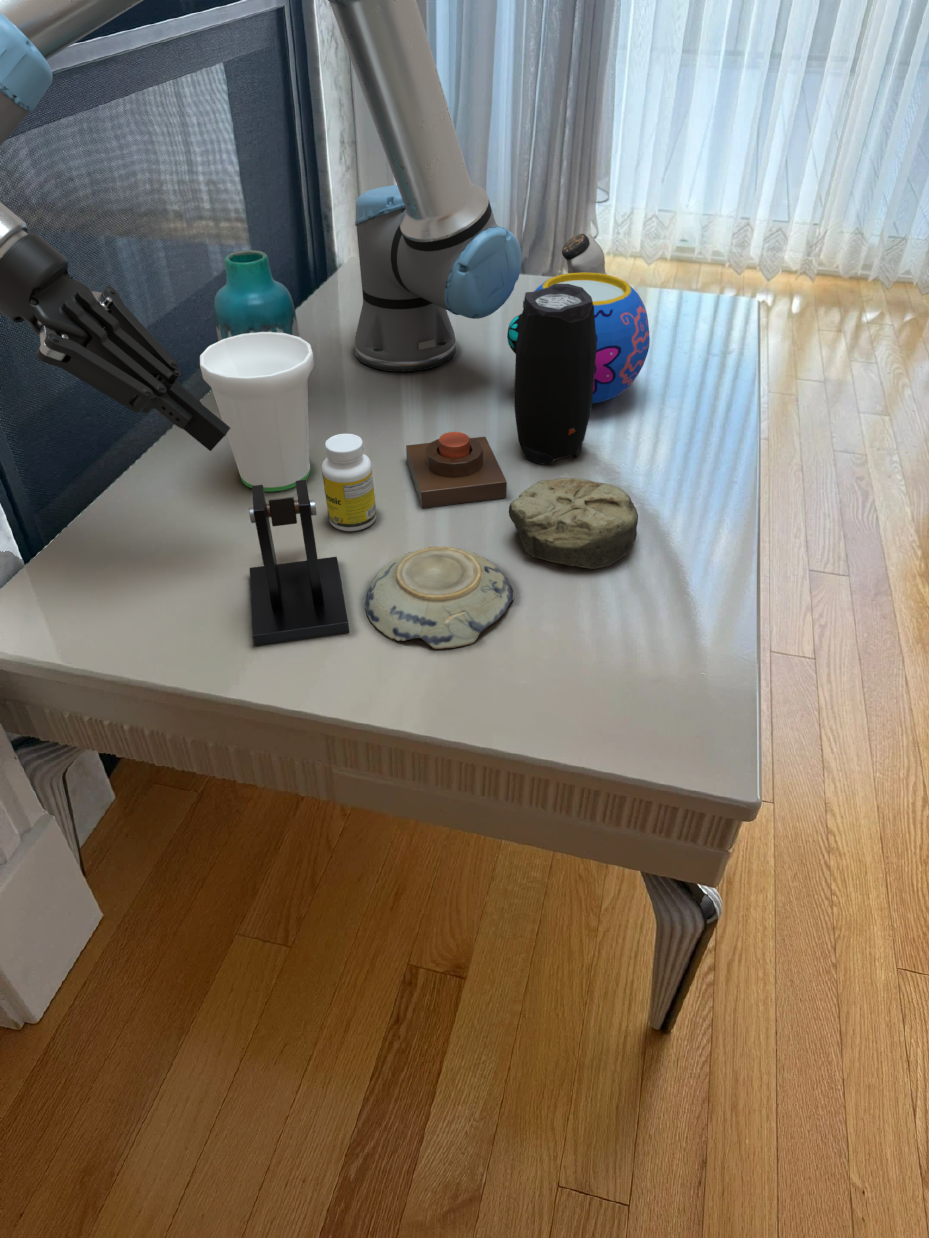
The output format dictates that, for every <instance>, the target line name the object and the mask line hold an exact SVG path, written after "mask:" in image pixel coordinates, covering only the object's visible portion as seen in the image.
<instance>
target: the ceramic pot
mask: <svg viewBox="0 0 929 1238" xmlns="http://www.w3.org/2000/svg"><path fill="white" fill-rule="evenodd" d="M606 274H607V273H606ZM606 274H600V273H586V272H581V273H568V272H567V273H562V274H559V275H555V276H553V277H550V278H548V279H547V280H546V279H545V281H544V282H542V283H541V284H540V285H539V286H538V287H536V289H535V290H534V291H537V290H540V289H544V288H547V287H550V286H552V285H554V284H571V285H575V286H578V287H582V288H583V289H584V290H585V291H586V292H587V293H588V294H589V295H590V296H591V297H592V301H593V305H594V315H595V329H596V342H597V351H596V362H595V374H594V385H593V396H592V405H593V404H598V403H603V402H605V401H608V400H611V399H613V398H617V397H619V396H620V395H621V394H623V393H624V392H625V391H627V390H628V388H629V387H631V385H632V384H633V383H634V381H635V380H636V378H637V377H638V376H639V373H640V372H641V370H642V369H643V367H644V364H645V362H646V359H647V356H648V353H649V350H650V342H651V341H650V340H651V338H650V325H649V319H648V318H649V317H648V313H647V309H646V307H645V304H644V301H643V299H642V298H641V296H640V295H639V293H638V292H637V291H636V289H634V288H633V286H632V285H630V284H629V283H628V282H627V281H625V280H623V279H621V278H620V277H617V276H614V275H609V274H607V275H606ZM522 313H523V310H522V312H521V313H520V314H518V315H517V316H515V317H513V319H511V321H510V323H509V324H508V327H507V334H506V337H507V338H506V339H507V343H508V346H509V348H510V349H511V351H512V352H513V353H514V354H515V355H516V341H517V336H518V332H519V327H520V322H521V318H522Z"/></svg>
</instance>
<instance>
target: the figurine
mask: <svg viewBox="0 0 929 1238" xmlns="http://www.w3.org/2000/svg"><path fill="white" fill-rule="evenodd" d="M561 254H562V256H563V258H564V259H565V261H566V264H567V274H568V273H581V272H586V273H600V274H606V275H608V274H607V272H606V258H605V253H604V250H603V248H602V247H601V245H600V244H599V243H598V242H597V241H596V239H595V237H594V236H593V235H592V234H591V233H585V234H584V233H578V234H576V235H574V236H572V237H571V238H570V239H569V240H567V241H566V242H565V244H564V245H563V246H562V249H561Z"/></svg>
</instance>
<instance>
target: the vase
mask: <svg viewBox="0 0 929 1238" xmlns="http://www.w3.org/2000/svg"><path fill="white" fill-rule="evenodd" d="M269 261H270V260H269V257H268V255H267V254H266V253H265V252H264V251H261V250H255V249H251V250H250V249H246V250H245V249H244V250H238V251H234V252H231V253H228V254H227V255H226V256H225V257H224V268H225V277H226V278H225V279H226V281H225V284H224V286H222V287H220V288H219V290H217V292H216V294H215V296H214V301H213V303H214V304H213V313H214V315H213V316H214V323H215V330H216V335H217V342H219V341H221V340H223V339H226V338H229V337H233V336H237V335H241V334H247V333H257V332H275V333H285V334H289V335H293V336H297V337H300V330H299V324H298V318H297V313H296V307H295V305H294V301H293V298H292V295H291V293H290V291H289V289H288V288H287V287H286V285H284V284H283V283H282V282H279V281H277V280H275V279H274V277H273V275H272V271H271V265H270V262H269Z"/></svg>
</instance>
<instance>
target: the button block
mask: <svg viewBox="0 0 929 1238" xmlns="http://www.w3.org/2000/svg"><path fill="white" fill-rule="evenodd" d="M469 438H470V453H469V455H467V456H465V457H463V458H456V459H451V458H445V457H443V456H441V455H440V454H439V438H438V439H435V440H433V441H431V442H426V443H425V442H424V443H416V444H408V445H407V444H406V445H405V451H406V452H405V453H406V454H405V455H406V463H407V466H408V469H409V472H410V476H411V479H412V481H413V484H414V488H415V490H416V491H415V492H416V494H417V497H418V500H419V503H420V506H421V509H425V508H426V509H427V508H433V507H442V506H451V505H459V504H467V503H475V502H482V501H491V500H499V499H507V480H506V478H505V475H504V473H503V471H502V468H501V467H500V465H499V462H498V461H497V458H496V456H495V453H494V452H493V450H492V448H491V446H490V443H489V441H488V439H487V437H486V436H478V437H469Z"/></svg>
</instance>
